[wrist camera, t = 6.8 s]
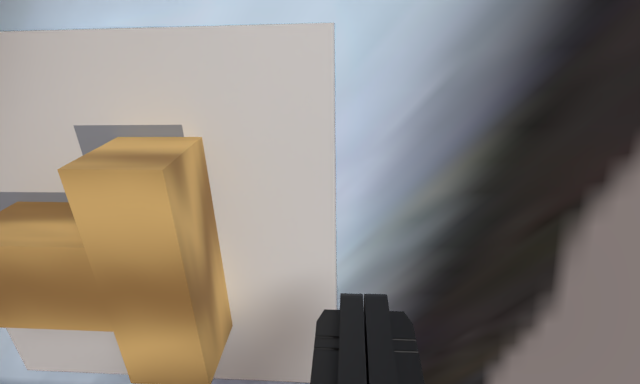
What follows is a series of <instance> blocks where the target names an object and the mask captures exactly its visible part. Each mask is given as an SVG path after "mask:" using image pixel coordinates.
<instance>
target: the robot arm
mask: <svg viewBox="0 0 640 384" xmlns="http://www.w3.org/2000/svg"><path fill="white" fill-rule="evenodd" d="M310 384H425V383H424V378H423V373H422V368H421V363H420V358H419V354H418V347H417V342H416V337H415V332H414V327H413V324H412V322H411V321H410V320H409V318H408V317H407V315H406V314H405V313H404V312H398V311H389V306H388V298H387V295H386V294H364V312H363V294H346V293H341V298H340V310H328V309H324V311H323V312H322V314H321V315H320V317H319V318H318V320H317V322H316V332H315V341H314V351H313V360H312V370H311V380H310Z"/></svg>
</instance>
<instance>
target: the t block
mask: <svg viewBox="0 0 640 384" xmlns="http://www.w3.org/2000/svg"><path fill="white" fill-rule="evenodd" d="M57 170H58V173H59V176H60V179H61V182H62V185H63V188H64V190H65V193H66V196H67V199H68V202H16V203H14V204H12V205H10V206H9V207H7V208H5V209H3V210H2V211H0V327H3V328H29V329H55V330H81V331H107V332H114V335H115V338H116V341H117V343H118V346H119V349H120V352H121V355H122V358H123V361H124V364H125V366H126V369H127V372H128V375H129V378H130V381H131V383H140V384H211V382H212V380H213V377H214V374H215V372H216V369H217V366H218V364H219V361H220V358H221V356H222V353H223V350H224V348H225V345H226V342H227V339H228V337H229V334H230V331H231V329H232V326H233V325H232V319H231V312H230V306H229V300H228V294H227V288H226V282H225V276H224V269H223V263H222V257H221V251H220V245H219V239H218V232H217V226H216V220H215V214H214V208H213V202H212V196H211V189H210V183H209V177H208V171H207V165H206V159H205V153H204V146H203V140H202V137H117V138H115V139H113V140H111V141H109V142H107V143H105V144H104V145H102V146H100V147H98V148H96V149H94V150H92V151H91V152H89V153H87V154H85V155H83V156H81V157H79V158H78V159H76V160H74V161H72V162H70V163H68V164H66V165H65V166H63V167H61V168H59V169H57Z"/></svg>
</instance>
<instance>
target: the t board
mask: <svg viewBox="0 0 640 384" xmlns="http://www.w3.org/2000/svg"><path fill="white" fill-rule="evenodd" d="M117 137H202V140H203V146H204V153H205V159H206V165H207V171H208V177H209V183H210V189H211V196H212V202H213V208H214V214H215V220H216V226H217V232H218V239H219V245H220V251H221V257H222V263H223V269H224V276H225V282H226V288H227V294H228V300H229V306H230V312H231V319H232V325H233V326H232V329H231V331H230V334H229V337H228V339H227V342H226V345H225V348H224V350H223V353H222V356H221V358H220V361H219V364H218V366H217V369H216V372H215V374H214V377H213V378H217V379H240V380H262V381H284V382H307V383H310V380H311V370H312V360H313V351H314V341H315V332H316V322H317V320H318V318H319V317H320V315H321V314H322V312H323V311H324V309H328V310H337V273H336V153H335V34H334V23H299V24H261V25H223V26H186V27H148V28H110V29H72V30H34V31H0V211H2V210H3V209H5V208H7V207H9V206H10V205H12V204H14V203H16V202H68V199H67V196H66V193H65V190H64V188H63V185H62V182H61V179H60V176H59V173H58V170H57V169H59V168H61V167H63V166H65V165H66V164H68V163H70V162H72V161H74V160H76V159H78V158H79V157H81V156H83V155H85V154H87V153H89V152H91V151H92V150H94V149H96V148H98V147H100V146H102V145H104V144H105V143H107V142H109V141H111V140H113V139H115V138H117ZM6 329H7V331H8V333H9V335H10V337H11V339H12V341H13V343H14V345H15V347H16V349H17V351H18V353H19V354H20V356H21V358H22V360H23V362H24V364H25V366H26V368H27V370H39V371H61V372H83V373H106V374H128V372H127V369H126V366H125V364H124V361H123V358H122V355H121V352H120V349H119V346H118V343H117V341H116V338H115V335H114V332H107V331H81V330H55V329H29V328H6Z"/></svg>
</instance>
